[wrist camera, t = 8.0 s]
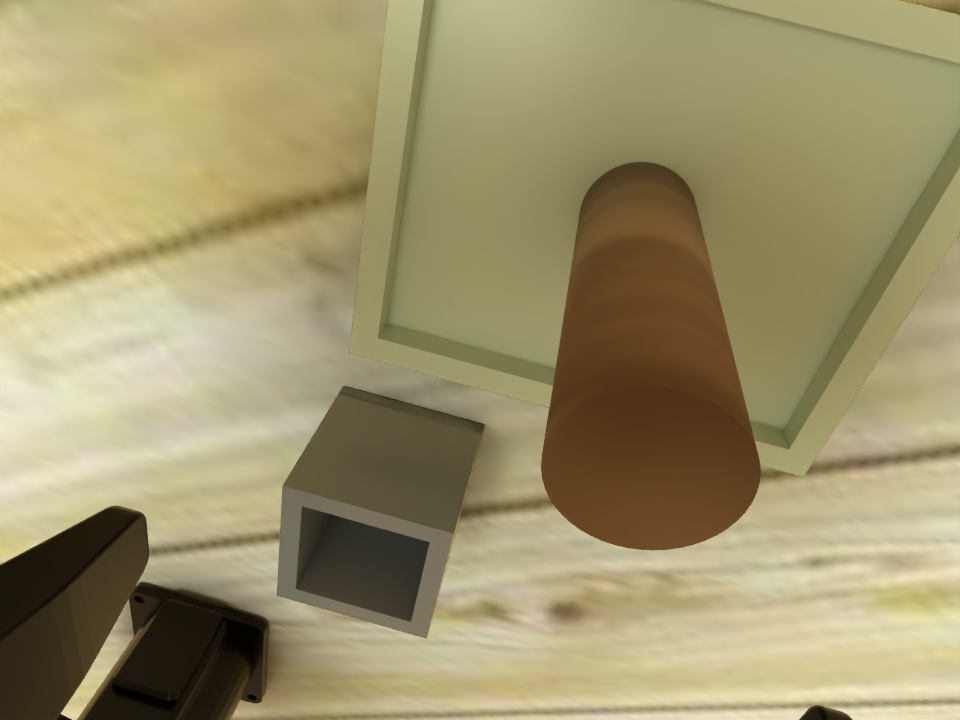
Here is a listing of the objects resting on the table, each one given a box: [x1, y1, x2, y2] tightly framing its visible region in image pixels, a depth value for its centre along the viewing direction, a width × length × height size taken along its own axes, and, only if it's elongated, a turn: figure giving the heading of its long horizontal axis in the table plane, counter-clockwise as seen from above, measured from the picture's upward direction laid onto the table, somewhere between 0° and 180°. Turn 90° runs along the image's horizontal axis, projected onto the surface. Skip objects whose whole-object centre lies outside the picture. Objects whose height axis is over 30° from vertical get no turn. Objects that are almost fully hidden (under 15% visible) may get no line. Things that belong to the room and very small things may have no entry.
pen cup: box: [277, 386, 484, 639], centre depth 23 cm, size 5×5×5 cm
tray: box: [349, 0, 960, 477], centre depth 18 cm, size 12×14×2 cm
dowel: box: [541, 162, 761, 550], centre depth 14 cm, size 3×3×10 cm
